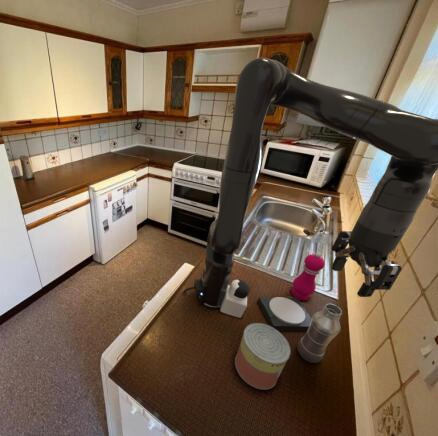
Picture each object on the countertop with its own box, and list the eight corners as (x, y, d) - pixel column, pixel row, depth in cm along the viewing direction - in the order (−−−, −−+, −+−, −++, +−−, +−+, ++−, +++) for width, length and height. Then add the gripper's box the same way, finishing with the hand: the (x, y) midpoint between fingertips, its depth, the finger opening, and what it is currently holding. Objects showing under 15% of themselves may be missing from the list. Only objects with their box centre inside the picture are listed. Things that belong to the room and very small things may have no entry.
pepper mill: (313, 303, 88) (335, 260, 79) (292, 300, 90) (311, 258, 80) (306, 289, 95) (325, 248, 85) (287, 286, 96) (303, 245, 86)
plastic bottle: (316, 348, 73) (343, 302, 63) (322, 369, 67) (353, 323, 58) (293, 341, 75) (315, 296, 65) (297, 362, 69) (322, 315, 60)
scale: (271, 330, 78) (274, 324, 77) (257, 301, 89) (259, 295, 87) (314, 331, 78) (318, 325, 77) (295, 302, 89) (297, 296, 87)
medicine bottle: (240, 304, 88) (252, 281, 82) (240, 319, 83) (252, 296, 76) (221, 297, 90) (231, 274, 84) (219, 311, 84) (230, 288, 78)
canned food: (274, 399, 61) (288, 373, 55) (230, 374, 66) (238, 347, 60) (279, 361, 69) (292, 335, 63) (240, 342, 74) (248, 316, 69)
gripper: (339, 208, 55) (314, 262, 63) (394, 243, 43) (355, 305, 51) (371, 208, 55) (343, 263, 63) (435, 244, 43) (390, 306, 51)
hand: (348, 282), depth 57 cm, fingers open, 8 cm apart
